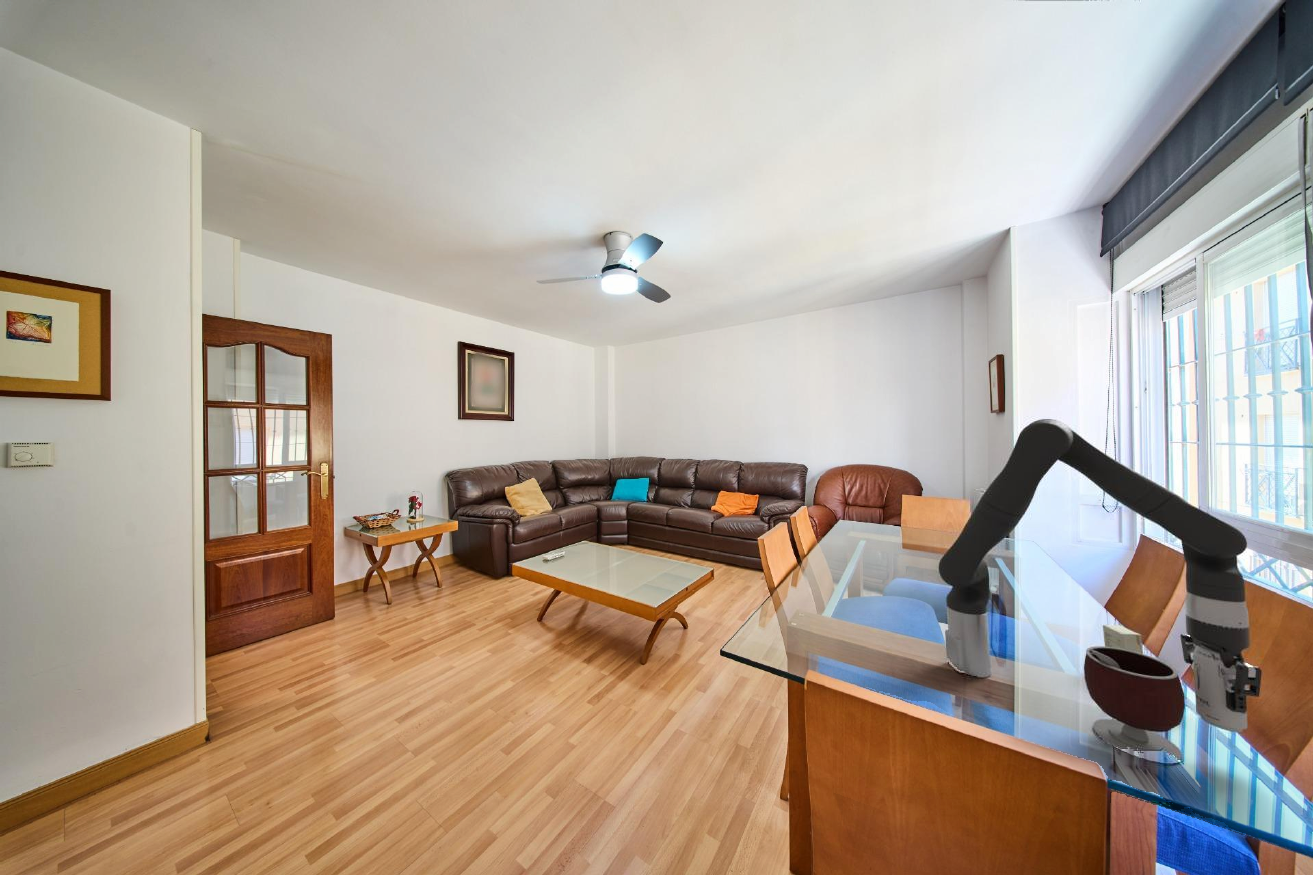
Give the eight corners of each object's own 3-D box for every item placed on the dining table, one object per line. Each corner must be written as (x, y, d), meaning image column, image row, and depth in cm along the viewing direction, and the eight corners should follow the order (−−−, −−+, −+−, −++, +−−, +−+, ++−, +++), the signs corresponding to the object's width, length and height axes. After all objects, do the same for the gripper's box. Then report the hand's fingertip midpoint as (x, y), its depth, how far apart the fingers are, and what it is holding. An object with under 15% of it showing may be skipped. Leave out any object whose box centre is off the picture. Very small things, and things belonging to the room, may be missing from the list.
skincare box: (1146, 682, 105) (1143, 635, 106) (1126, 681, 106) (1123, 634, 106) (1123, 668, 112) (1120, 624, 112) (1105, 667, 113) (1101, 623, 113)
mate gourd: (1127, 717, 93) (1121, 630, 93) (1212, 764, 79) (1204, 662, 80) (1063, 722, 92) (1057, 634, 93) (1137, 770, 79) (1129, 667, 79)
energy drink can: (1193, 709, 85) (1189, 638, 86) (1242, 722, 81) (1238, 648, 81) (1200, 723, 81) (1196, 650, 81) (1252, 738, 77) (1248, 660, 77)
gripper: (1282, 637, 73) (1287, 728, 73) (1209, 605, 87) (1213, 683, 87) (1223, 631, 76) (1227, 720, 76) (1161, 601, 89) (1164, 677, 89)
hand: (1219, 700), depth 81 cm, fingers closed on energy drink can, 6 cm apart
